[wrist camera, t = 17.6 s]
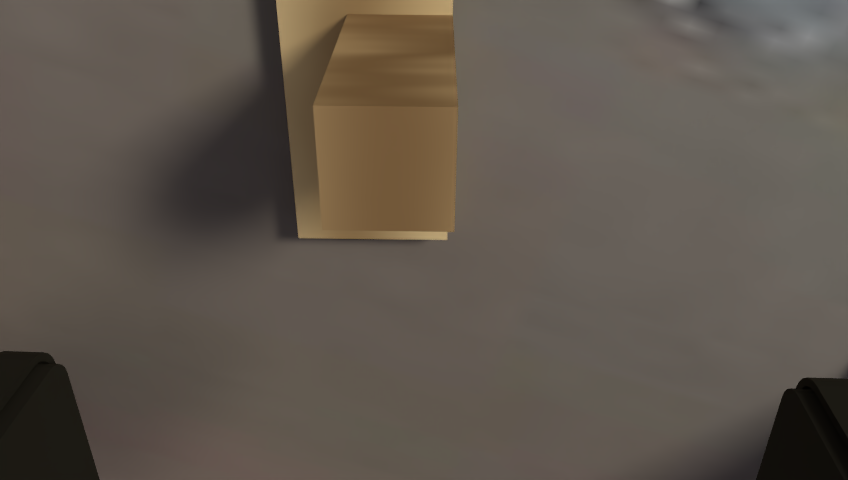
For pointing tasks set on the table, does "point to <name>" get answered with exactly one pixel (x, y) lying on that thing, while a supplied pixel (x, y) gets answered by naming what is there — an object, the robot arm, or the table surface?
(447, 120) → the tan l-shaped bookend
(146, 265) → the table surface
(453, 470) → the table surface
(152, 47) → the table surface
